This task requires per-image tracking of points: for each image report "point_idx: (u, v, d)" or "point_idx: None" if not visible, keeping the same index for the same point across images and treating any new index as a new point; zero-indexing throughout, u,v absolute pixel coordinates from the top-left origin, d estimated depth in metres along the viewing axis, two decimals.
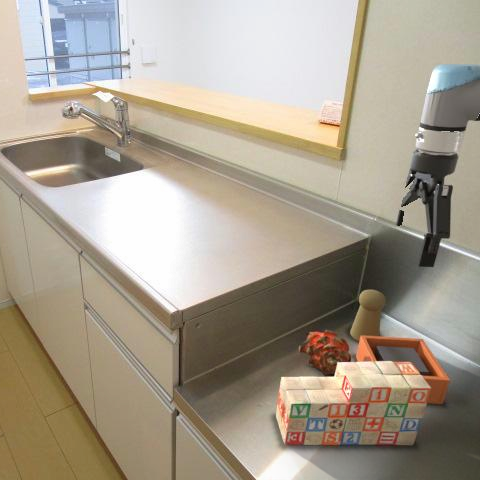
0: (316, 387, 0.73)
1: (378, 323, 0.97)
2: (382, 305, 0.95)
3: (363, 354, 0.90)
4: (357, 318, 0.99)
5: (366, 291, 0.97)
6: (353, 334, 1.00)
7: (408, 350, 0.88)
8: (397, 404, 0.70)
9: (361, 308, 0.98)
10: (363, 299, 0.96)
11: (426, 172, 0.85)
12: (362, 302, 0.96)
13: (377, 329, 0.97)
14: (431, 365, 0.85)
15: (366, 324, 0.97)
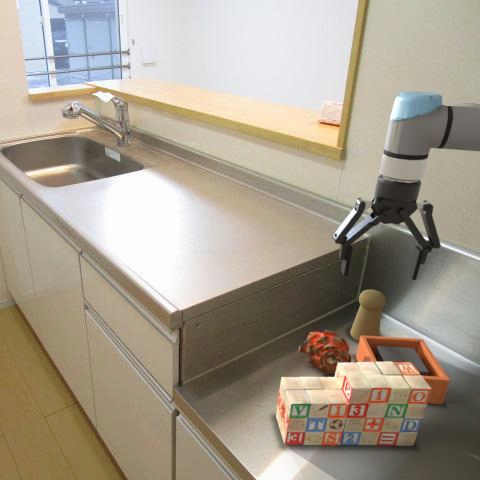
0: (316, 388, 0.73)
1: (378, 323, 0.97)
2: (382, 305, 0.95)
3: (363, 354, 0.90)
4: (357, 318, 0.99)
5: (366, 291, 0.97)
6: (353, 334, 1.00)
7: (408, 350, 0.88)
8: (398, 404, 0.70)
9: (361, 308, 0.98)
10: (363, 299, 0.96)
11: None
12: (362, 302, 0.96)
13: (377, 329, 0.97)
14: (431, 365, 0.85)
15: (366, 324, 0.97)
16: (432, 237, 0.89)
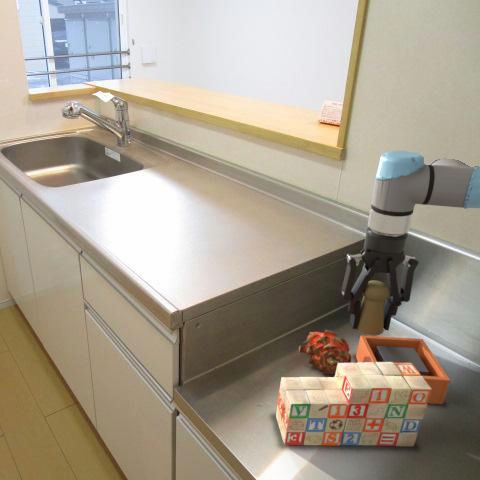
0: (316, 388, 0.73)
1: (382, 314, 0.96)
2: (386, 296, 0.94)
3: (363, 354, 0.90)
4: (360, 309, 0.98)
5: (369, 282, 0.96)
6: (357, 326, 0.99)
7: (408, 350, 0.88)
8: (398, 404, 0.70)
9: (364, 299, 0.97)
10: (366, 290, 0.95)
11: None
12: (365, 293, 0.95)
13: (381, 320, 0.96)
14: (431, 365, 0.85)
15: (370, 315, 0.96)
16: (405, 290, 0.94)
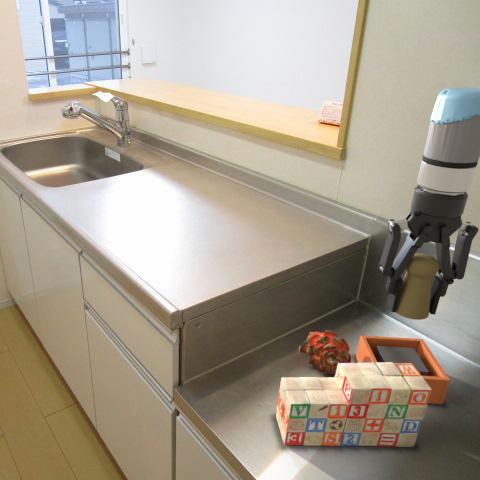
0: (316, 388, 0.73)
1: (429, 294, 0.79)
2: (435, 271, 0.77)
3: (363, 354, 0.90)
4: (402, 289, 0.81)
5: (414, 255, 0.79)
6: None
7: (408, 350, 0.88)
8: (398, 405, 0.70)
9: (408, 276, 0.79)
10: (411, 264, 0.78)
11: None
12: (409, 268, 0.78)
13: (427, 302, 0.79)
14: (431, 365, 0.85)
15: (414, 295, 0.79)
16: (459, 265, 0.77)
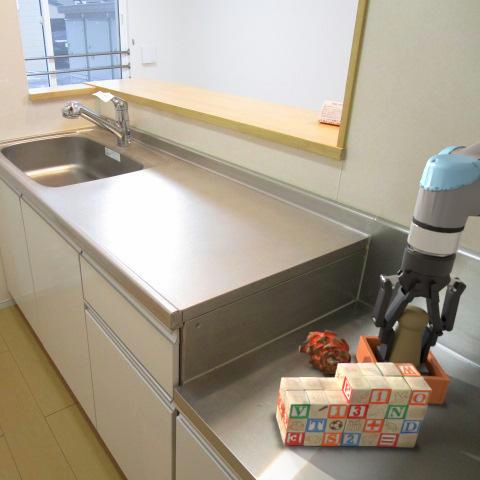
0: (316, 388, 0.73)
1: (419, 345, 0.82)
2: (425, 324, 0.80)
3: (363, 354, 0.90)
4: (394, 339, 0.84)
5: None
6: (389, 357, 0.85)
7: None
8: (398, 405, 0.70)
9: (399, 327, 0.83)
10: (402, 316, 0.81)
11: None
12: (400, 320, 0.81)
13: (418, 352, 0.82)
14: (431, 365, 0.85)
15: (405, 346, 0.82)
16: (449, 318, 0.80)
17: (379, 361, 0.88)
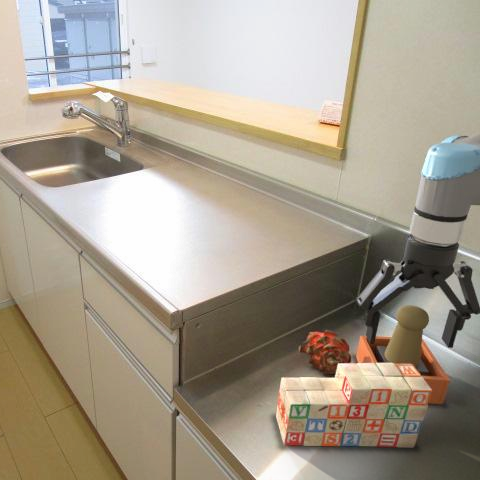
0: (316, 388, 0.73)
1: (419, 345, 0.82)
2: (425, 324, 0.80)
3: (363, 354, 0.90)
4: (394, 338, 0.84)
5: (405, 307, 0.82)
6: (388, 357, 0.85)
7: None
8: (398, 405, 0.70)
9: (399, 327, 0.83)
10: (402, 316, 0.81)
11: None
12: (400, 320, 0.81)
13: (418, 352, 0.82)
14: (431, 365, 0.85)
15: (405, 346, 0.82)
16: (471, 302, 0.78)
17: (379, 361, 0.88)
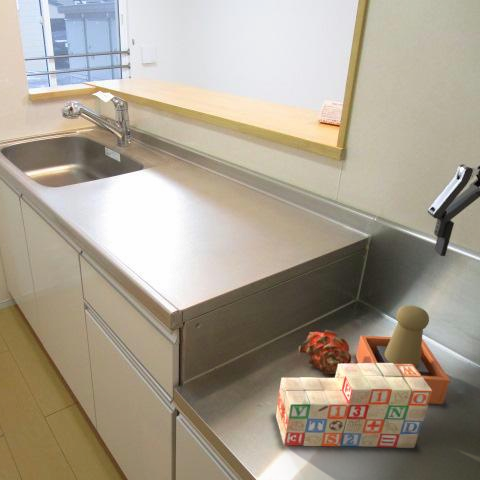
0: (316, 388, 0.73)
1: (419, 345, 0.82)
2: (425, 324, 0.80)
3: (363, 354, 0.90)
4: (394, 338, 0.84)
5: (405, 307, 0.82)
6: (388, 357, 0.85)
7: None
8: (398, 406, 0.70)
9: (399, 327, 0.83)
10: (402, 316, 0.81)
11: None
12: (400, 320, 0.81)
13: (418, 352, 0.82)
14: (431, 365, 0.85)
15: (405, 346, 0.82)
16: None
17: (379, 361, 0.88)
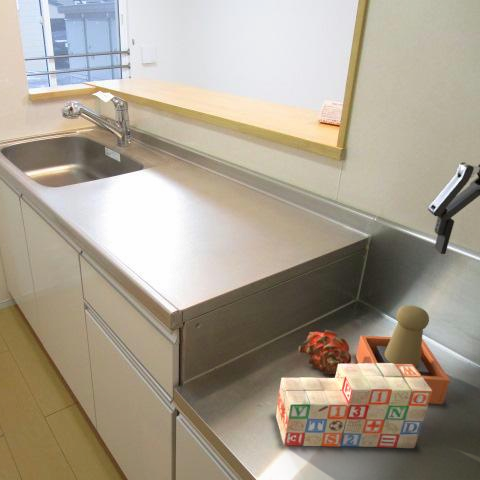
0: (316, 388, 0.73)
1: (419, 345, 0.82)
2: (425, 324, 0.80)
3: (363, 354, 0.90)
4: (394, 338, 0.84)
5: (405, 307, 0.82)
6: (388, 357, 0.85)
7: None
8: (398, 406, 0.70)
9: (399, 327, 0.83)
10: (402, 316, 0.81)
11: None
12: (400, 320, 0.81)
13: (418, 352, 0.82)
14: (431, 365, 0.85)
15: (405, 346, 0.82)
16: None
17: (379, 361, 0.88)
